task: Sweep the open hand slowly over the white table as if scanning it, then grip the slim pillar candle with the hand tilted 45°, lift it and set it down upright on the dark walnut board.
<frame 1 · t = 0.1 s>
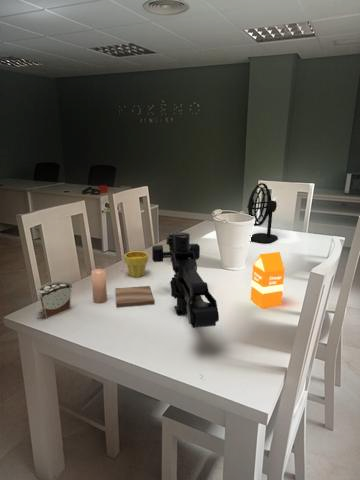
hand: (172, 246, 144), 17 cm above the table, tool horizontal, fingers open, 9 cm apart
orange juice: (265, 303, 132), on the table
plant pot: (136, 275, 158), on the table
desk fan: (261, 239, 220), on the table
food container: (53, 311, 123), on the table
walnut board: (134, 297, 135), on the table
pillar candle: (100, 300, 132), on the table
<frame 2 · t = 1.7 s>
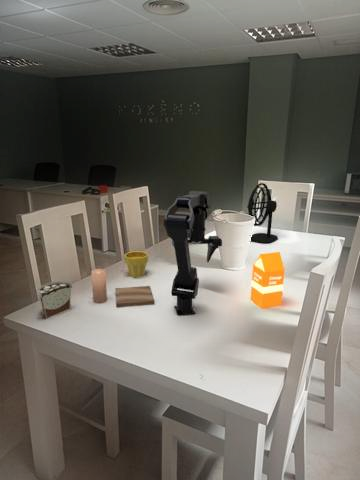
hand: (196, 262, 136), 13 cm above the table, tool pointing down, fingers open, 9 cm apart
nothing on the table moved.
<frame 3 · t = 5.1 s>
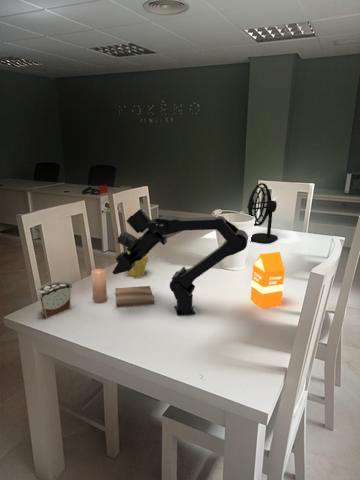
hand: (118, 269, 127), 14 cm above the table, tool tilted 45°, fingers open, 9 cm apart
nothing on the table moved.
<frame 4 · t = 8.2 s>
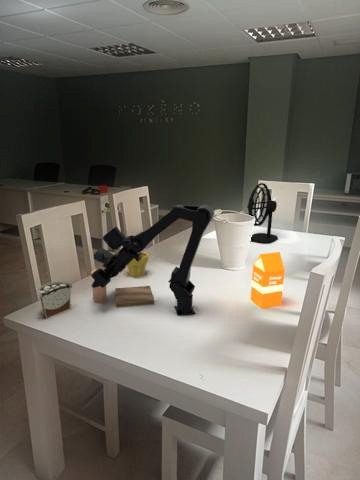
hand: (95, 283, 131), 7 cm above the table, tool tilted 45°, fingers closed on pillar candle, 5 cm apart
pillar candle: (100, 300, 132), on the table, touching gripper
everything else where it was.
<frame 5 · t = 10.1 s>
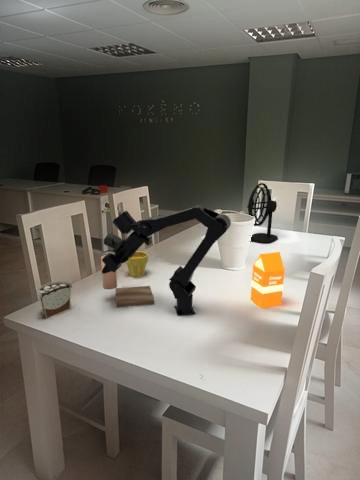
hand: (105, 270, 130), 12 cm above the table, tool tilted 45°, fingers closed on pillar candle, 5 cm apart
pillar candle: (110, 286, 131), point 5 cm above the table, touching gripper
everything else where it was.
when the fingers open (9 cm above the table, at t = 12.1 s): pillar candle stays where it is, resting on walnut board.
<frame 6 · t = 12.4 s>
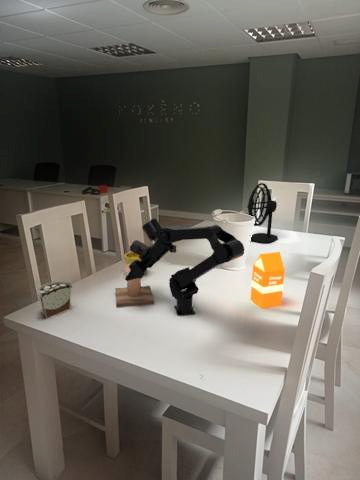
hand: (130, 275, 133), 9 cm above the table, tool tilted 45°, fingers open, 8 cm apart
pillar candle: (134, 294, 134), point 2 cm above the table, touching walnut board
everything else where it was.
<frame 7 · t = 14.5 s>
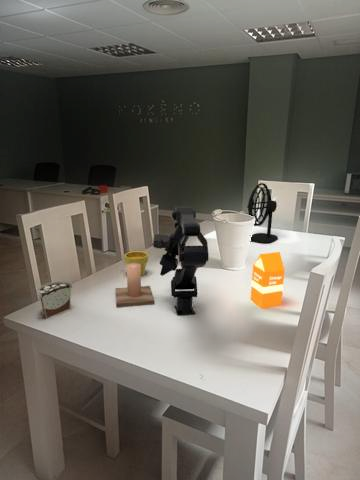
hand: (163, 268, 134), 11 cm above the table, tool tilted 30°, fingers open, 9 cm apart
nothing on the table moved.
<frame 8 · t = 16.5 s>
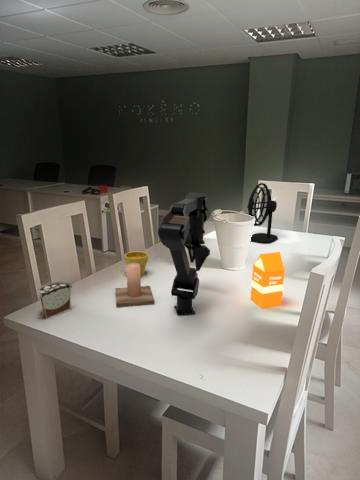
hand: (194, 266, 132), 13 cm above the table, tool pointing down, fingers open, 9 cm apart
nothing on the table moved.
at the end: pillar candle inside the target area on the walnut board (0.1 cm from its centre), point 1.5 cm above the walnut board's base; pillar candle tilted 1°; the gripper is holding nothing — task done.
